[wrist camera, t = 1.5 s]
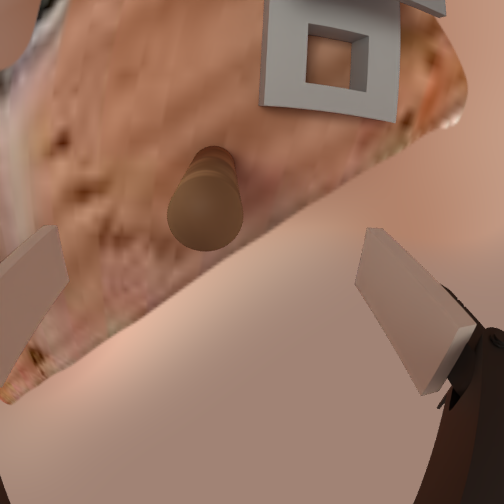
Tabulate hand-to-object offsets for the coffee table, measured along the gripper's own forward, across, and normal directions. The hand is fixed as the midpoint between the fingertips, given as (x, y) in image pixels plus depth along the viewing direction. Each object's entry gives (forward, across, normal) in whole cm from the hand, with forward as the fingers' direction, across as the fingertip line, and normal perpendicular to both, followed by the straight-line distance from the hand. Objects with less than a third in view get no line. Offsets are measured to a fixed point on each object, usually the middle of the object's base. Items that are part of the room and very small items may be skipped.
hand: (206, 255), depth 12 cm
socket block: (+18, +10, +14) cm, 25 cm away
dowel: (+18, 0, 0) cm, 18 cm away
